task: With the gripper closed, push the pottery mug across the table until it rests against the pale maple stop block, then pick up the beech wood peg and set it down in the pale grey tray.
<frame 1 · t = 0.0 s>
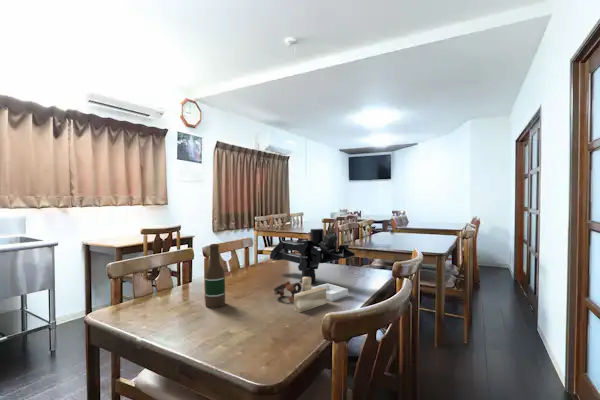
hand: (347, 255, 134), 17 cm above the table, tool horizontal, fingers open, 9 cm apart
tray: (329, 295, 133), on the table
beer bottle: (215, 305, 123), on the table
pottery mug: (288, 299, 130), on the table
peg: (307, 291, 139), on the table
stop block: (310, 306, 119), on the table
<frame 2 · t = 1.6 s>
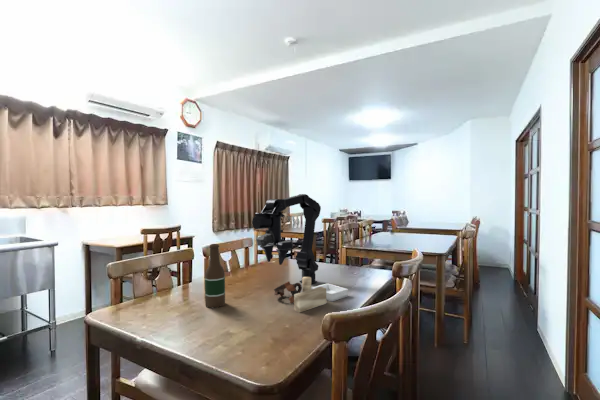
hand: (274, 263, 137), 13 cm above the table, tool pointing down, fingers open, 8 cm apart
nothing on the table moved.
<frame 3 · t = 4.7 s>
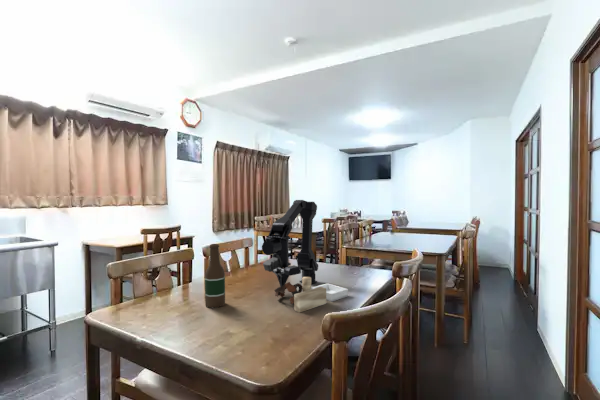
hand: (282, 287, 133), 4 cm above the table, tool pointing down, fingers closed
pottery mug: (289, 300, 128), on the table, touching gripper
everything else where it was.
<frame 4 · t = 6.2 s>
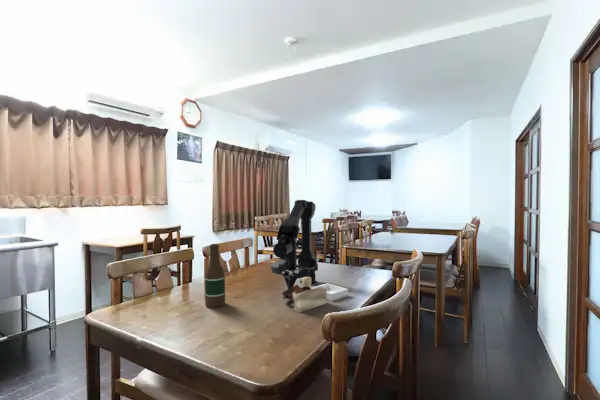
hand: (290, 290, 129), 3 cm above the table, tool pointing down, fingers closed
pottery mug: (297, 303, 124), on the table, touching gripper
everything else where it was.
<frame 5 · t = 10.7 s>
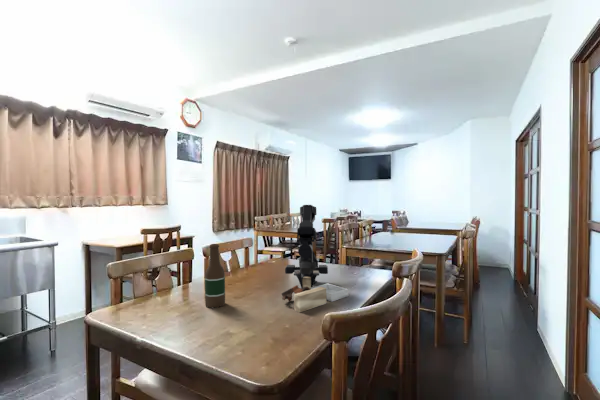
hand: (306, 288, 139), 1 cm above the table, tool pointing down, fingers closed on peg, 4 cm apart
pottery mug: (297, 304, 123), on the table
peg: (307, 291, 139), on the table, touching gripper
everything else where it was.
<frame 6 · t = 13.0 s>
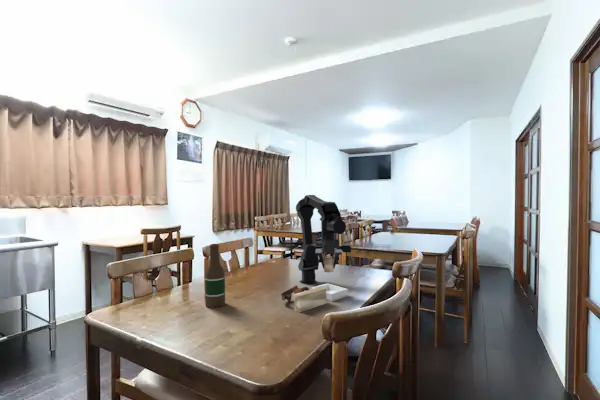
hand: (328, 268, 132), 12 cm above the table, tool pointing down, fingers closed on peg, 4 cm apart
peg: (328, 271, 132), point 10 cm above the table, touching gripper
everything else where it was.
when the fingers open (3 cm above the table, at t = 15.2 s): peg drops 1 cm, resting on tray.
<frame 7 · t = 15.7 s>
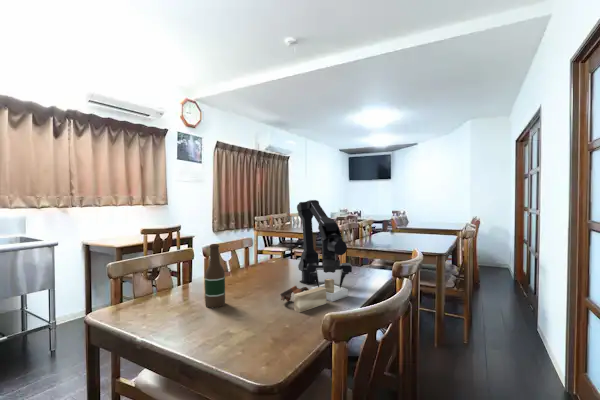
hand: (329, 287, 133), 3 cm above the table, tool pointing down, fingers open, 9 cm apart
peg: (329, 294, 133), point 1 cm above the table, touching tray
everything else where it was.
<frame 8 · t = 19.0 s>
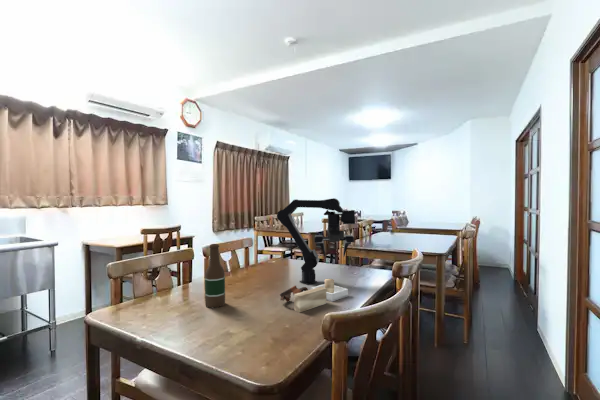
hand: (334, 256, 151), 13 cm above the table, tool pointing down, fingers open, 9 cm apart
nothing on the table moved.
at the end: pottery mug inside the target area (2.4 cm from its centre), on the table; peg inside the target area on the tray (0.1 cm from its centre), point 0.6 cm above the tray's base; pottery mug tilted 1° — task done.
